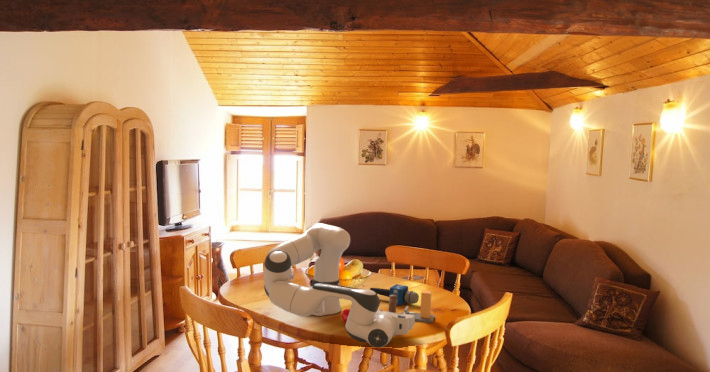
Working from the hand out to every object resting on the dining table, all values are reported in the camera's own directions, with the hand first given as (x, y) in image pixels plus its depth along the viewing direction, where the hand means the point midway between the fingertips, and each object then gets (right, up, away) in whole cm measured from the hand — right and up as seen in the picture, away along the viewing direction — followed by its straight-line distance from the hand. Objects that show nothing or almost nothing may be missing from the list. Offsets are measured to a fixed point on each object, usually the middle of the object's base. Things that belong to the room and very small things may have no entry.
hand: (392, 312), depth 206 cm
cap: (-18, -6, +6) cm, 20 cm away
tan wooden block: (+16, -5, +14) cm, 21 cm away
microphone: (+3, -4, +38) cm, 38 cm away
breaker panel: (+13, -6, +15) cm, 20 cm away
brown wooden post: (0, -7, 0) cm, 7 cm away
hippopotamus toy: (-55, 0, +65) cm, 85 cm away
